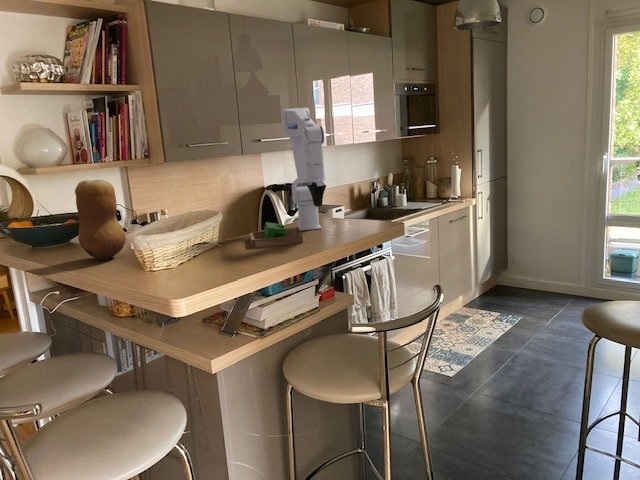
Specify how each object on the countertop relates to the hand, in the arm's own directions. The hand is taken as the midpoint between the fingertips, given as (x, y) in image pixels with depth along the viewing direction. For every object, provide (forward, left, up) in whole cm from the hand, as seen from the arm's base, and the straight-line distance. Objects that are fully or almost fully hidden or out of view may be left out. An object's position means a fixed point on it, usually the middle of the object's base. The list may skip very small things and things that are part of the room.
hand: (318, 205), depth 171 cm
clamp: (0, -15, -10) cm, 18 cm away
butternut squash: (-2, -69, -10) cm, 70 cm away
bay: (0, -15, -10) cm, 18 cm away
